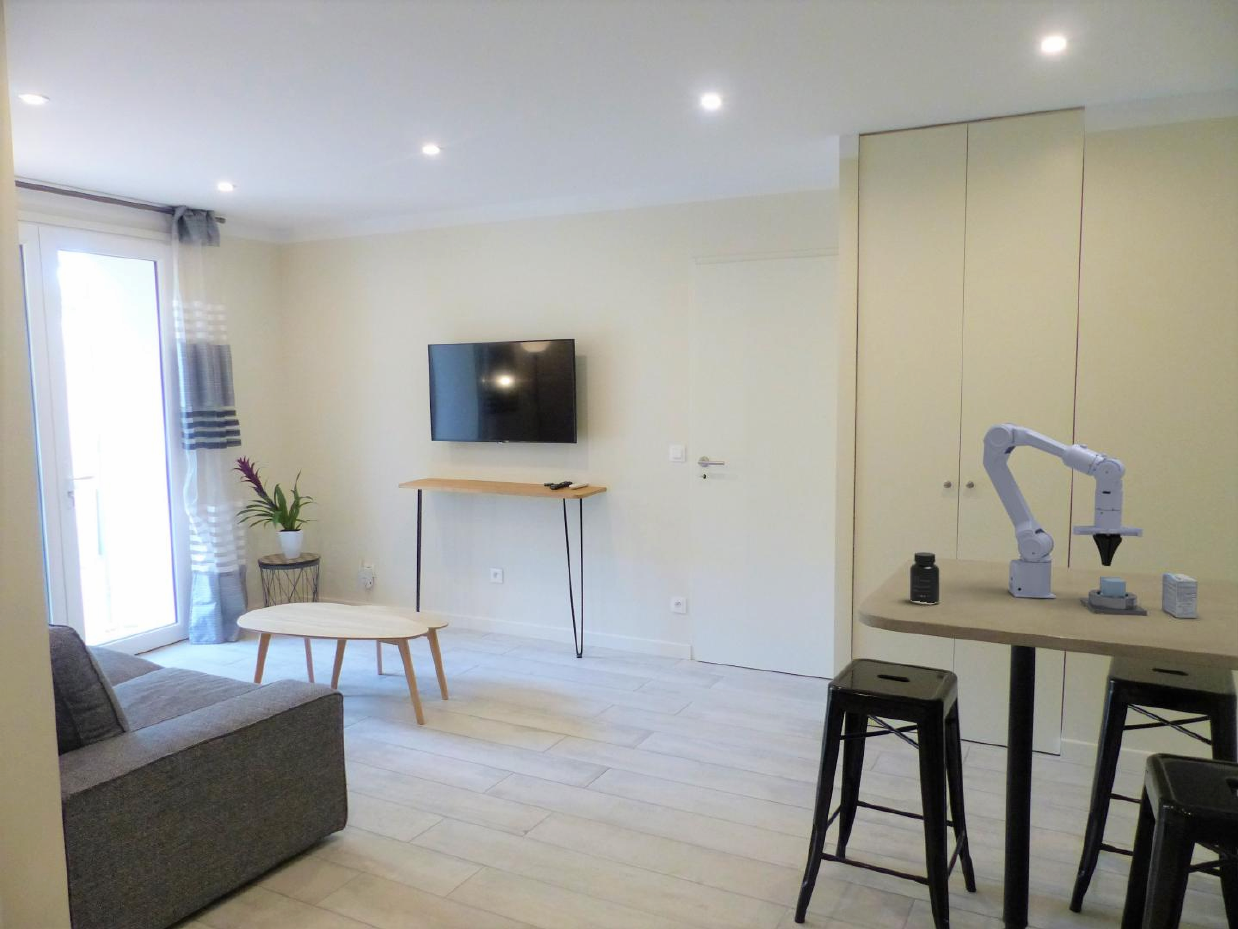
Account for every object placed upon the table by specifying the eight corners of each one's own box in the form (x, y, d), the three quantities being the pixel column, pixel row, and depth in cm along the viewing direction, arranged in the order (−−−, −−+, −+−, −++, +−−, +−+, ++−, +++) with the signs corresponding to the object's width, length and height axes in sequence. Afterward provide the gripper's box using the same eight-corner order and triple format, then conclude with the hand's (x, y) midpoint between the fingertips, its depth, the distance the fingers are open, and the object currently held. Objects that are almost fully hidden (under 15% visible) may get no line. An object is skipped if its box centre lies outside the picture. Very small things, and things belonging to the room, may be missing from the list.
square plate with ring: (1094, 613, 200) (1094, 598, 200) (1079, 602, 211) (1079, 587, 211) (1146, 615, 198) (1147, 600, 198) (1129, 603, 209) (1129, 589, 209)
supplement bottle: (913, 597, 218) (913, 550, 217) (941, 600, 215) (942, 552, 214) (906, 603, 212) (907, 555, 211) (936, 606, 209) (936, 557, 208)
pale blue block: (1103, 606, 203) (1104, 581, 202) (1096, 601, 208) (1097, 576, 207) (1127, 607, 202) (1128, 581, 201) (1119, 602, 207) (1120, 577, 206)
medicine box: (1197, 619, 195) (1199, 580, 194) (1175, 618, 196) (1176, 580, 195) (1182, 610, 202) (1183, 573, 202) (1160, 609, 203) (1162, 573, 203)
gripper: (1079, 510, 205) (1077, 567, 206) (1148, 512, 202) (1145, 569, 203) (1071, 506, 212) (1069, 561, 213) (1137, 507, 209) (1135, 563, 210)
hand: (1106, 565), depth 209 cm, fingers closed
